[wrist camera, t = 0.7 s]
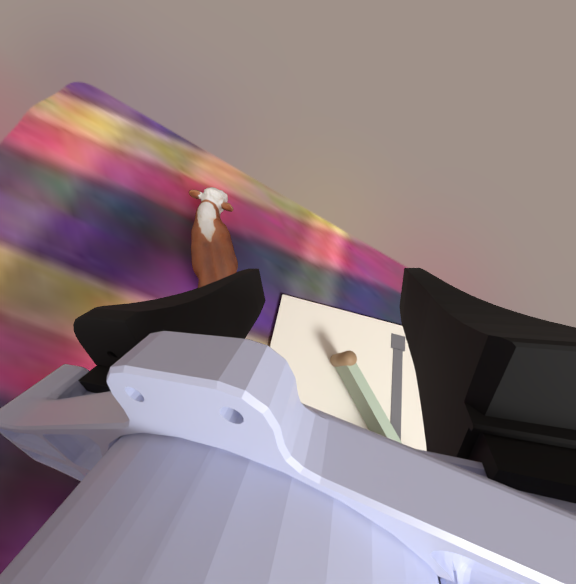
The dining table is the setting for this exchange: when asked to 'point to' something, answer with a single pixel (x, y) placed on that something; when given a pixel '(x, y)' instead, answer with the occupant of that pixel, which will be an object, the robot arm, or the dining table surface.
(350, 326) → the board
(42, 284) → the dining table surface
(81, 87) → the dining table surface
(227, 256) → the bull figurine
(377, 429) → the hinged fence panel
